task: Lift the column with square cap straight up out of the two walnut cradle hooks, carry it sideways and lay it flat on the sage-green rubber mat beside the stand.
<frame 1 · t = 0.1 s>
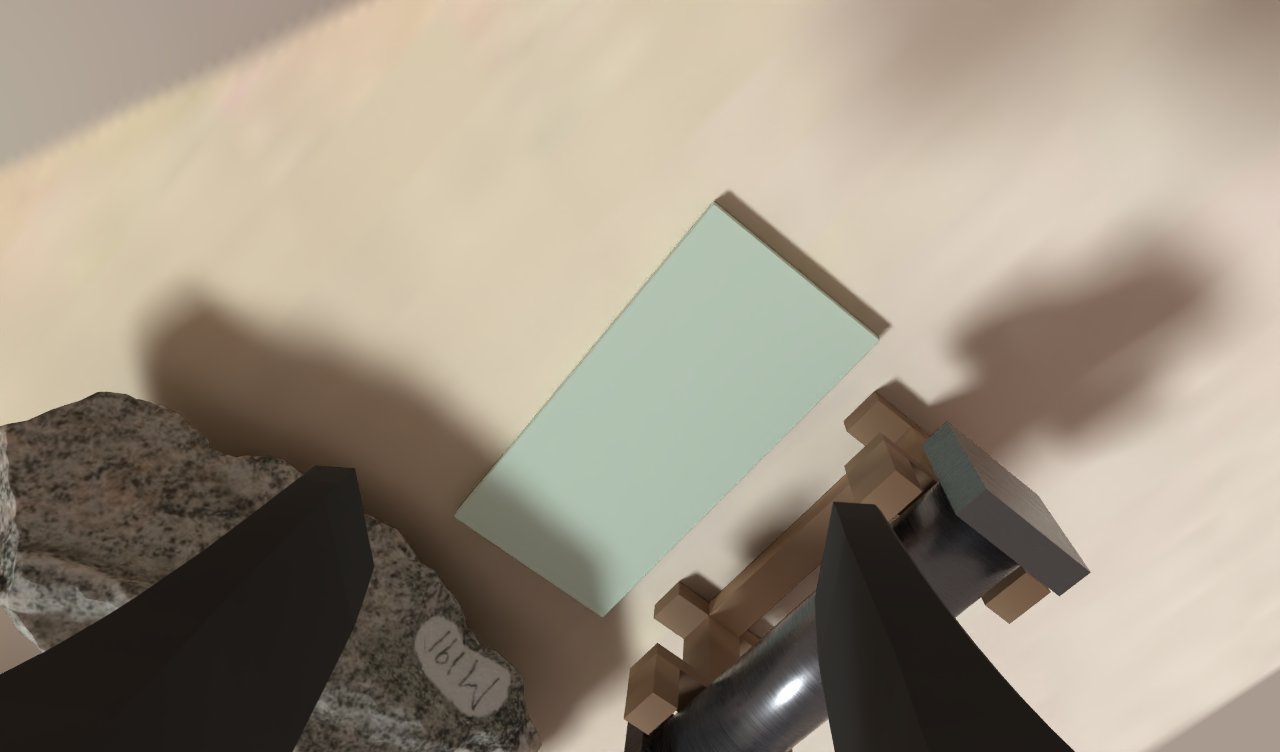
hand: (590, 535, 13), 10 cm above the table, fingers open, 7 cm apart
mat: (652, 428, 23), on the table
rock: (304, 597, 27), on the table
rail stand: (803, 540, 24), on the table
column with square cap: (815, 613, 21), point 3 cm above the table, touching rail stand
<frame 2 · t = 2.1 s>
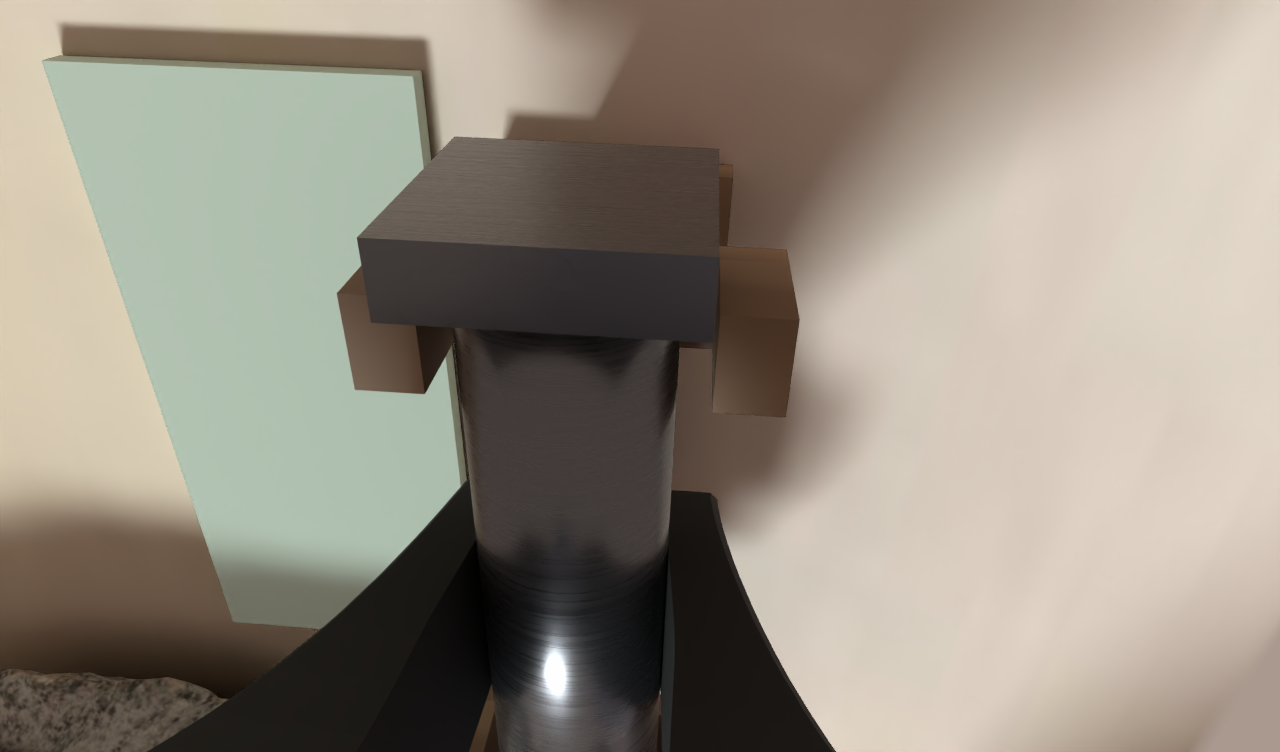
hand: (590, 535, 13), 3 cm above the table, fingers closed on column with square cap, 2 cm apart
mat: (312, 396, 16), on the table
rail stand: (613, 416, 15), on the table
column with square cap: (589, 539, 12), point 3 cm above the table, touching gripper, rail stand
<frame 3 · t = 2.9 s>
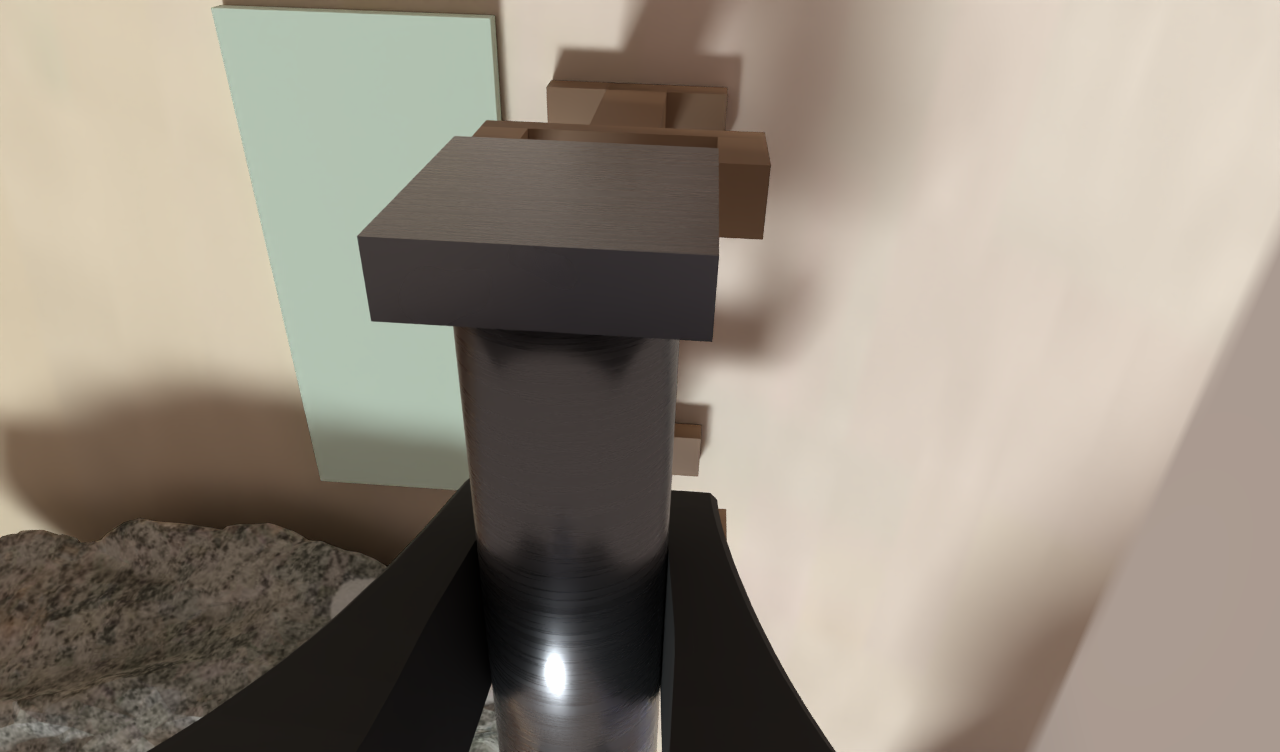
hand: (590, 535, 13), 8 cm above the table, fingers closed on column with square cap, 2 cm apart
mat: (396, 282, 20), on the table
rock: (305, 619, 27), on the table
rail stand: (634, 295, 19), on the table
column with square cap: (589, 538, 12), point 8 cm above the table, touching gripper
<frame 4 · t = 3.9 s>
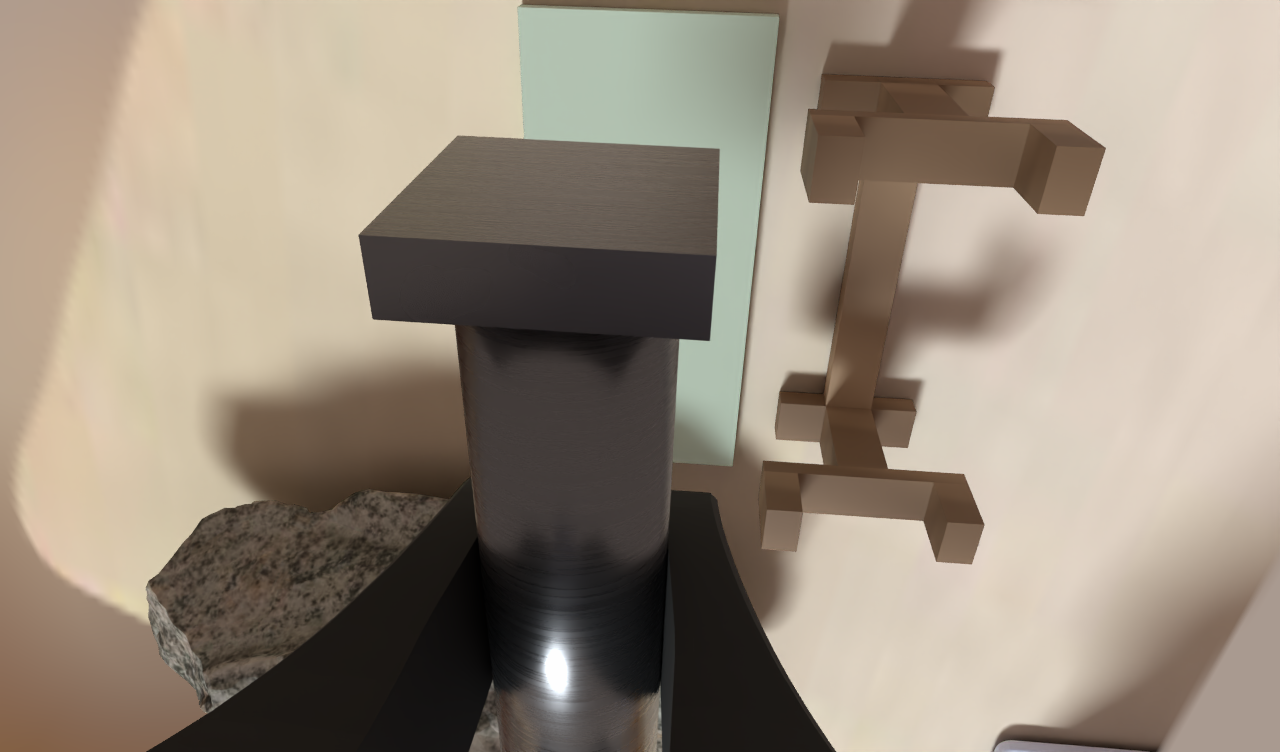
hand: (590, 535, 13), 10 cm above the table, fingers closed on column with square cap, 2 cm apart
mat: (641, 263, 21), on the table
rock: (493, 589, 28), on the table
rail stand: (867, 275, 21), on the table
column with square cap: (591, 536, 13), point 10 cm above the table, touching gripper
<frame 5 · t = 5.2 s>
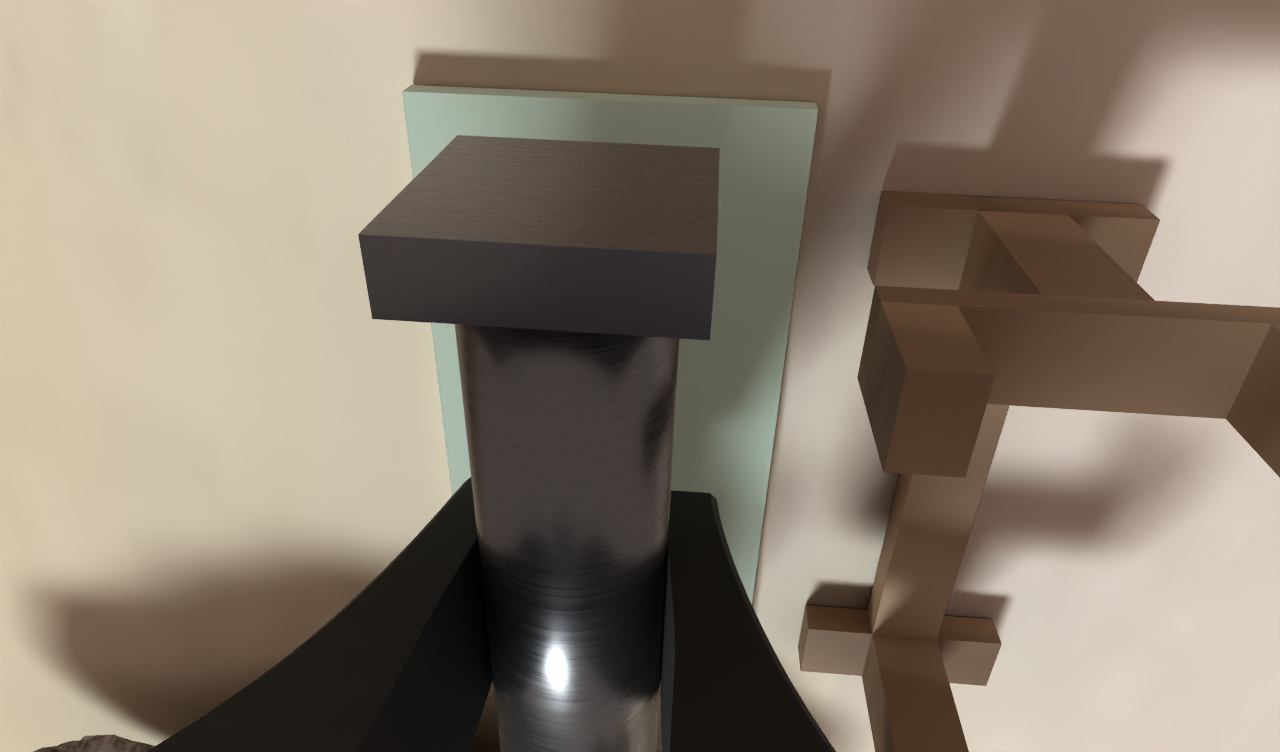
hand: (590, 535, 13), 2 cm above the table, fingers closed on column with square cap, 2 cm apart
mat: (608, 444, 15), on the table
rail stand: (937, 466, 14), on the table
column with square cap: (591, 536, 13), point 2 cm above the table, touching gripper
when the fingers open (1 cm above the table, at t = 6.1 s): column with square cap drops 1 cm, resting on mat.
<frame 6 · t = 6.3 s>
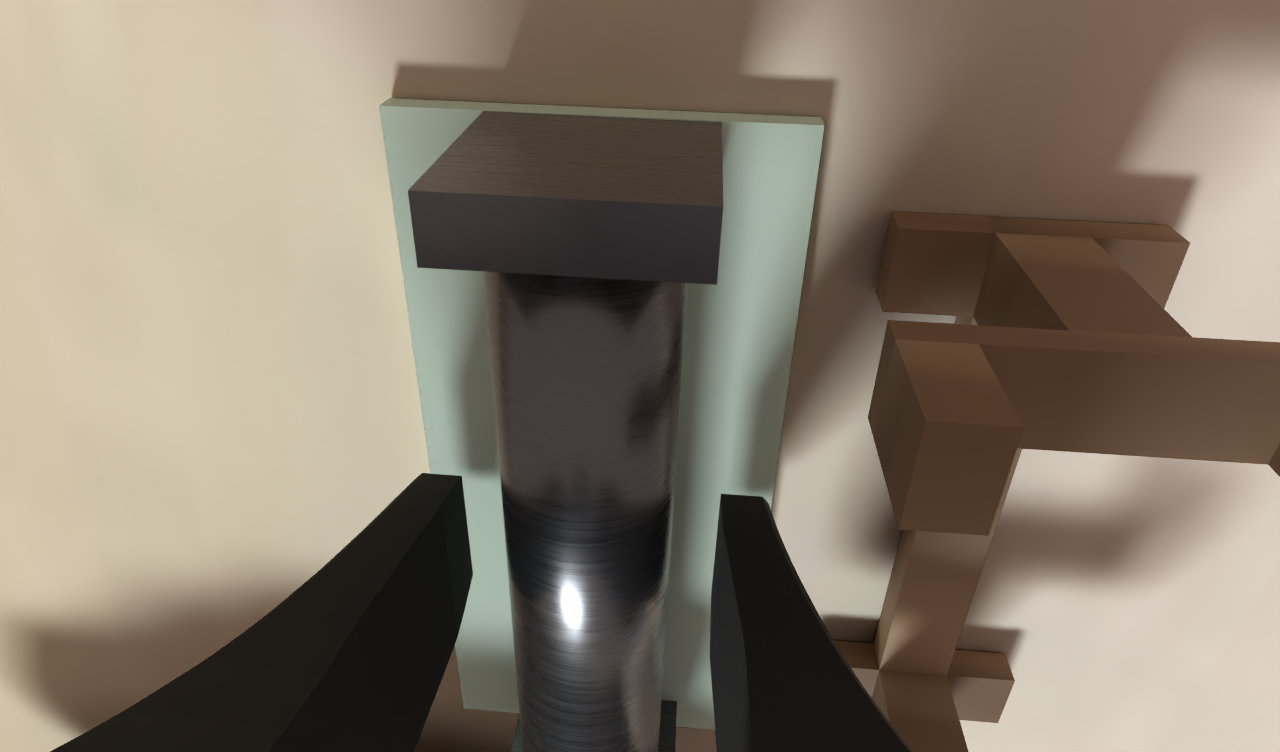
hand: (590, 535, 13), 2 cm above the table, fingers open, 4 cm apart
mat: (602, 473, 14), on the table
rail stand: (948, 497, 14), on the table
column with square cap: (601, 489, 13), resting on mat
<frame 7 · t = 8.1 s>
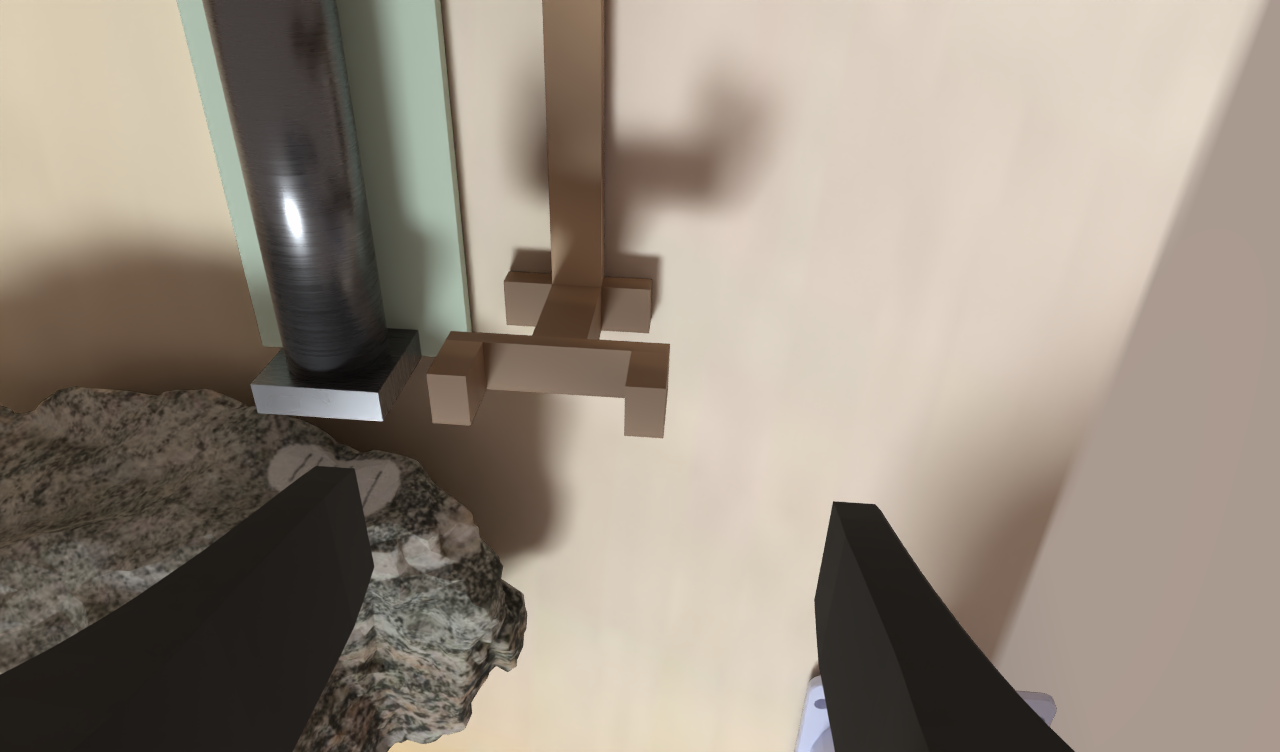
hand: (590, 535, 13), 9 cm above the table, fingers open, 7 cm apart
mat: (332, 119, 19), on the table
rock: (256, 510, 26), on the table
rail stand: (577, 130, 19), on the table
column with square cap: (326, 124, 19), resting on mat
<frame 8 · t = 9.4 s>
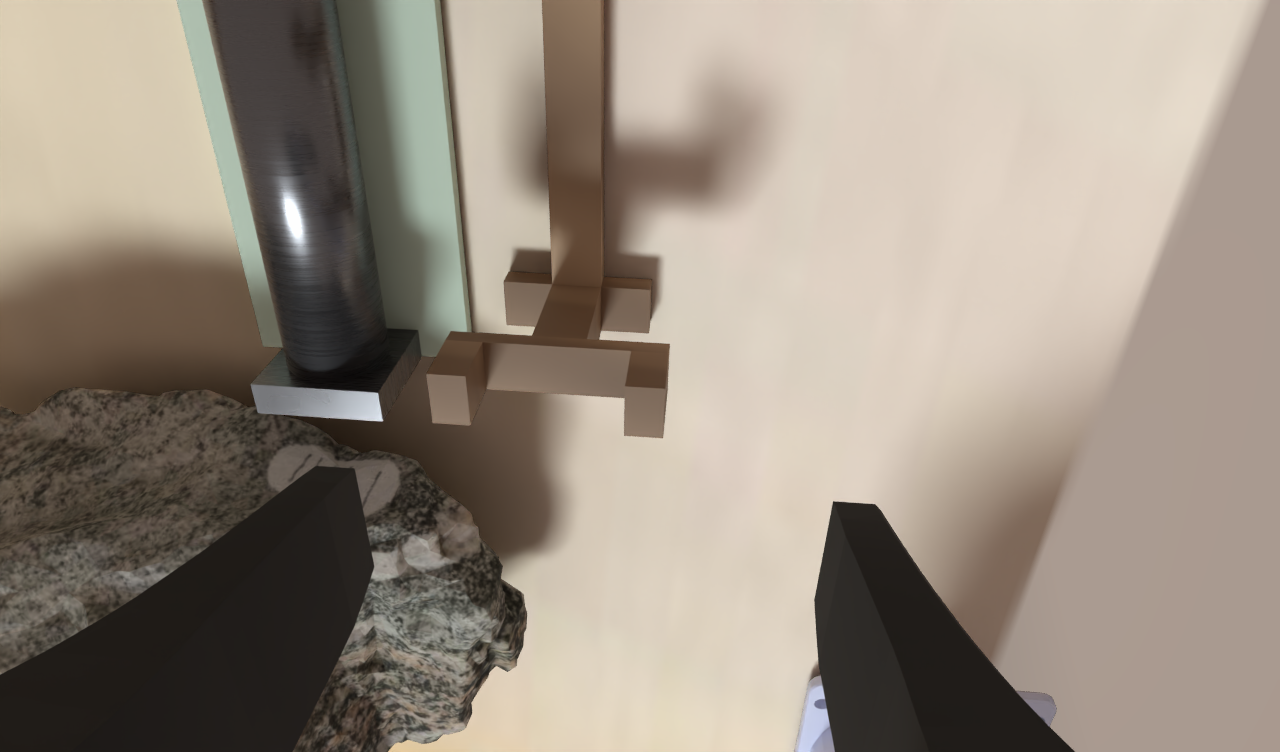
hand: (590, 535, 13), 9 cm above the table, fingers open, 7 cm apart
mat: (332, 119, 19), on the table
rock: (256, 511, 26), on the table
rail stand: (577, 130, 19), on the table
column with square cap: (326, 124, 19), resting on mat
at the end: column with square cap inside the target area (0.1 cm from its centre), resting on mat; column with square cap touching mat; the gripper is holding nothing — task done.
